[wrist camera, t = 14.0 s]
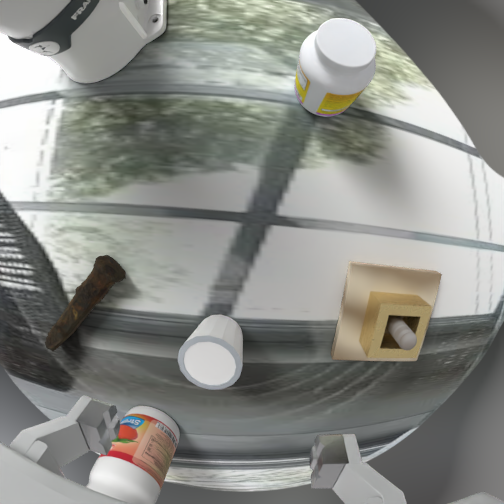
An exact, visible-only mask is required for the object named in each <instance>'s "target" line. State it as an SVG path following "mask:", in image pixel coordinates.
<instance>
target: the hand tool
mask: <svg viewBox="0 0 504 504" xmlns="http://www.w3.org/2000/svg"><path fill="white" fill-rule="evenodd" d="M124 278H126V276H125V271H124V270H123V269H122V268H121V266H120V265H119V264H118V263H117V262H116V261H115V260H114V259H113V258H112V257H110V256H108V255H105V256H99V257H97V258H96V261H95V264H94V268H93V271H92V272H91V273H90V275H89V276H88V277H87V279H86V280H85V281H84V282H83V283H82V284H81V285H80V286H79V287H77V288H76V294H75V296H74V297H73V299H72V300H71V302H70V303H69V304H68V306H67V308H66V309H65V311H64V312H63V314H62V315H61V317H60V319H59V320H58V321H57V323H56V324H54V325H53V327H52V328H51V330H50V332H49V333H48V336H47V338H46V342H45V344H46V347H47V348H48V349H51V350H52V351H54V350H55V349H57V348H58V347H59V346H60V345H61V344H63V342H64V341H65V340H66V339H67V338H68V337H69V336H71V335H72V334H73V333H74V332H75V331H76V330H77V328H78V326H79V325H80V324H81V323H82V322H83V320H84V319H85V318H86V317H87V316H88V315H89V313H90V312H91V311H92V309H93V308H94V307H95V306H96V305H97V304H98V303H99V302H100V301H101V300H102V299H103V298H104V296H105V295H106V294H107V292H108V291H109V289H110V288H111V287H112V286H113V285H114V284H115V283H116V282H120V281H121V280H123V279H124Z"/></svg>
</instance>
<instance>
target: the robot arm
mask: <svg viewBox="0 0 504 504" xmlns="http://www.w3.org/2000/svg"><path fill="white" fill-rule="evenodd" d="M166 7H167V0H0V32H1V33H3V34H5V35H8V37H9V39H10V40H11V41H12V42H14V43H16V44H18V45H20V46H22V47H24V48H26V49H29V50H31V51H33V52H35V53H38V54H41V55H44V56H47V57H49V58H50V59H52V60H53V61H54V62H55V63H57V64H58V65H59V66H60V67H61V68H62V69H63V70H64V72H65V73H66V74H67V76H68V77H69V78H70V79H72V80H73V81H76V82H79V83H94V82H98V81H101V80H103V79H106V78H108V77H110V76H111V75H113V74H115V73H116V72H118V71H119V70H121V69H122V68H123V67H124V66H126V65H127V64H128V63H129V62H130V61H131V60H132V59H133V58H134V57H135V56H136V54H137V53H138V52H139V51H140V50H141V49H142V48H143V47H144V46H145V45H146V44H147V43H149V42H151V41H152V40H154V39H156V38H157V37H159V36H160V35H161V34H162V33H163V32H164V31H165V30H166ZM156 20H158V21H157V22H155V21H156ZM154 22H155V23H154ZM116 413H117V409H116V406H114V405H112V404H109V403H106V402H103V401H100V400H97V399H94V398H91V397H88V396H85V395H84V396H82V397H81V398H80V399H79V400H78V402H77V403H76V404H75V405H74V407H73V408H72V409H71V410H70V412H69V413H68V414H67V416H66V417H64V416H62V417H59V418H56V419H54V420H51V421H48V422H45V423H42V424H40V425H37V426H34V427H31V428H28V429H25V430H22V431H21V432H20V433H19V435H18V436H17V437H16V438H15V439H14V441H13V442H12V443H11V444H10V445H9V447H8V446H6V445H5V444H3V443H2V442H0V504H131V503H128V502H125V501H122V500H119V499H116V498H113V497H110V496H108V495H105V494H102V493H99V492H97V491H94V490H92V489H89V488H87V487H85V486H82V485H80V484H77V483H75V482H73V481H71V480H69V479H66V478H65V476H64V475H63V473H62V471H61V469H60V467H62V466H64V465H66V464H68V463H69V462H71V461H73V460H74V459H76V458H78V457H80V456H81V455H83V454H85V453H87V452H88V451H89V450H91V451H94V452H97V453H100V454H103V455H106V456H107V454H108V452H109V451H110V449H111V447H112V442H111V441H112V440H114V439H116V438H117V436H118V434H119V430H120V420H119V418H118V417H117V416H116ZM310 468H311V469H312V470H313V472H312V474H311V484H312V488H333V490H334V491H335V493H336V494H337V495H338V496H339V497H340V499H341V500H342V501H343V502H344V503H345V504H407V503H406V500H405V497H404V494H403V492H402V491H401V490H400V489H398V488H397V487H396V486H395V485H393V484H392V483H391V482H389V481H388V480H387V479H386V478H384V477H383V476H382V475H380V474H379V473H378V472H377V471H376V470H374V469H373V468H372V467H371V466H369V465H368V464H367V463H363V462H362V459H361V455H360V451H359V447H358V444H357V440H356V436H355V435H354V434H342V435H341V434H333V435H317V436H316V438H315V446H313V447H312V450H311V453H310ZM449 504H504V502H503V501H501V500H499V499H498V498H496V497H493V496H492V495H489V494H487V493H484V492H482V493H477V494H474V495H471V496H469V497H466V498H463V499H461V500H458V501H455V502H452V503H449Z"/></svg>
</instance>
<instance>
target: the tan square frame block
mask: <svg viewBox="0 0 504 504" xmlns="http://www.w3.org/2000/svg"><path fill="white" fill-rule="evenodd" d="M431 309H432V306H431V305H429V304H428V303H427V302H426V301H424V300H423V299H422V298H421V297H420V296H418V295H412V294H399V293H387V292H375V291H370V295H369V300H368V305H367V309H366V313H365V318H364V322H363V326H362V330H361V334H360V338H359V342H360V344H361V346H362V348H363V350H364V352H365V354H366V356H367V358H417V355H418V352H419V349H420V346H421V343H422V340H423V336H424V333H425V330H426V327H427V323H428V320H429V316H430V313H431ZM389 315H398V316H404V318H403V321H404V322H405V324H406V325H407V326H408V327H409V328H410V329H411V330H412V332H413V333H414V334H415V335H416V337H417V343H416V345H415V347H414V348H413V349H411V350H403V349H402V348H401V347H400V346H399V345H398V343H397V342H396V340H395V339H394V338H393V336H392V335H391V334H389V333H384V332H385V328H386V325H387V321H388V317H389Z"/></svg>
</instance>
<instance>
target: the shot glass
mask: <svg viewBox="0 0 504 504" xmlns="http://www.w3.org/2000/svg"><path fill="white" fill-rule="evenodd" d="M242 359H243V335H242V330H241V328H240V326H239V325H238V323H237V322H236V321H234V320H233V319H232V318H230V317H228V316H224V315H221V314H220V315H211V316H209V317H207V318H205V319H204V320H203V321H202V322H201V324H200V325H199V326H198V327H197V328H196V330H195V331H194V332H193V333H192V335H191V336H190V337H189V338H188V339H187V341H186V342H185V343H184V344H183V346H182V347H181V348H180V350H179V355H178V363H179V366H180V370H181V371H182V373H183V374H184V375H185V377H186V378H187V379H188V380H189V381H191V382H192V383H194V384H195V385H197V386H199V387H202V388H206V389H210V390H213V389H223V388H226V387H228V386H231V385H233V384H234V383H235V382H236V380H237V379H238V378H239V377H240V374H241V370H242Z"/></svg>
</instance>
